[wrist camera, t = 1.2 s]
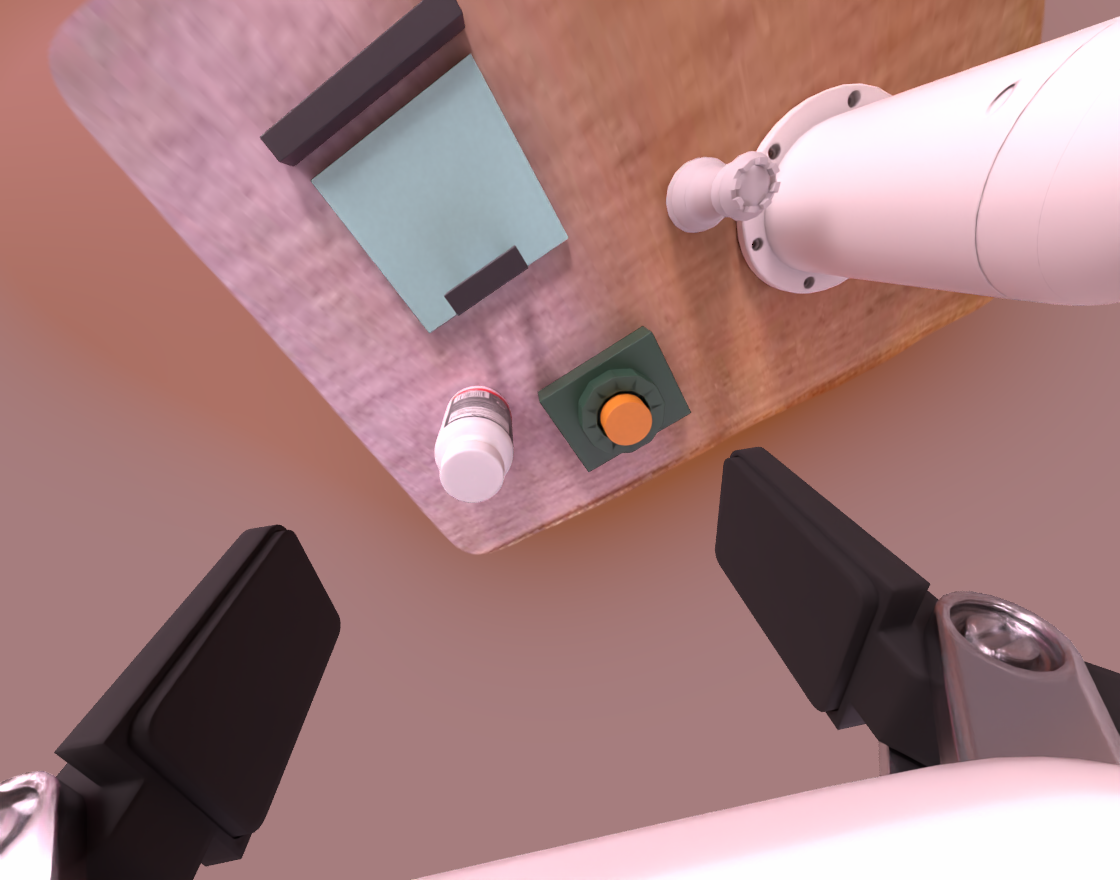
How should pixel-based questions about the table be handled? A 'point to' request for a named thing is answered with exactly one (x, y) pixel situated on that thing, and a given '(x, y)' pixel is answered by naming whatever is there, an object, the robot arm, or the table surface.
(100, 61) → the table surface
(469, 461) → the pill bottle
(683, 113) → the table surface
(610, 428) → the button
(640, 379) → the button box
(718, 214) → the rook chess piece
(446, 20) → the bar
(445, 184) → the pale blue flat panel
